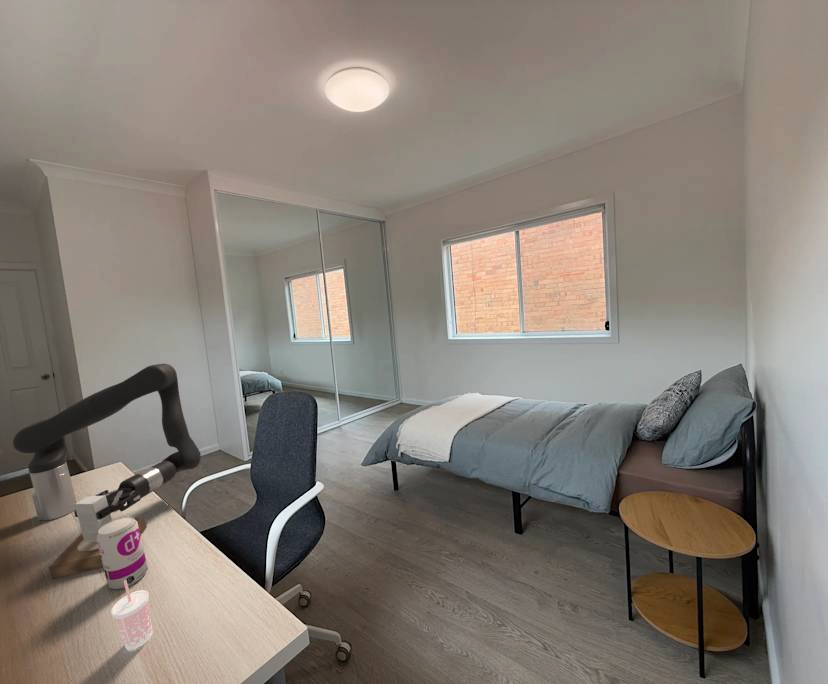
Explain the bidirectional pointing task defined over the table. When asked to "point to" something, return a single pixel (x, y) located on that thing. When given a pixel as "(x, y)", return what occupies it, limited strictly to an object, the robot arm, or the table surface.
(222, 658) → the table surface
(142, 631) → the beverage cup
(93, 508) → the skincare box
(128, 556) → the supplement can
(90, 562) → the block
